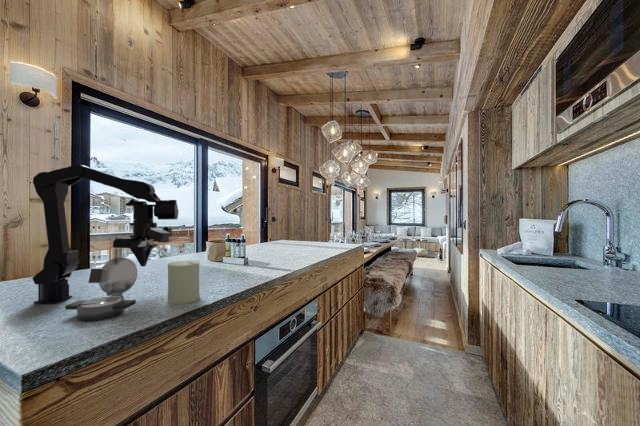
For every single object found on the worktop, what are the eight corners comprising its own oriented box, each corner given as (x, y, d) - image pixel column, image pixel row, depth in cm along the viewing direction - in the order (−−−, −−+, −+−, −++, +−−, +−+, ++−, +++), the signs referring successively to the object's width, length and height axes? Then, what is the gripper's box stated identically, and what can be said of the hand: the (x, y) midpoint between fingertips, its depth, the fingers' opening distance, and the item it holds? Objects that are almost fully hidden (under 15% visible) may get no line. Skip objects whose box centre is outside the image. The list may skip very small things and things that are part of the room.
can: (187, 305, 84) (187, 264, 84) (160, 303, 85) (160, 263, 85) (205, 296, 93) (205, 259, 93) (181, 294, 94) (181, 258, 94)
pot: (55, 322, 70) (55, 308, 70) (91, 307, 82) (91, 295, 82) (118, 321, 71) (118, 307, 71) (144, 306, 82) (144, 294, 82)
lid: (93, 257, 83) (96, 257, 84) (85, 296, 80) (89, 295, 81) (138, 257, 83) (141, 257, 84) (132, 295, 80) (135, 295, 81)
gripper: (145, 220, 84) (145, 272, 84) (182, 219, 103) (182, 261, 103) (111, 220, 85) (111, 271, 85) (154, 218, 104) (154, 261, 104)
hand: (143, 266), depth 94 cm, fingers closed
